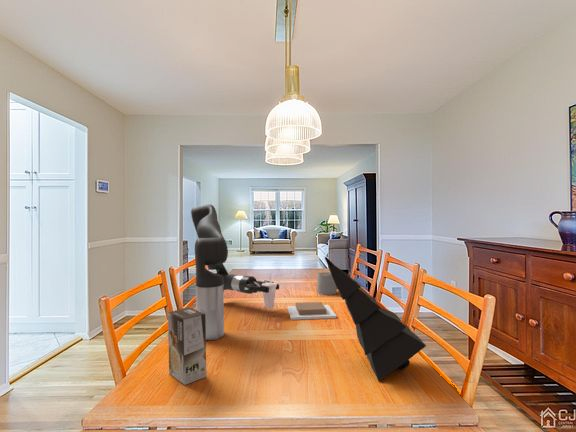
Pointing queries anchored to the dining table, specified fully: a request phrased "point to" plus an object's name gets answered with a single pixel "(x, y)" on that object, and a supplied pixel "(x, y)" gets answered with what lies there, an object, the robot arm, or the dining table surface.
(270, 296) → the smoothie
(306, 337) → the dining table surface
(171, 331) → the coffee box
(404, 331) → the decorative tree
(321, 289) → the coffee mug
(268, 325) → the dining table surface
